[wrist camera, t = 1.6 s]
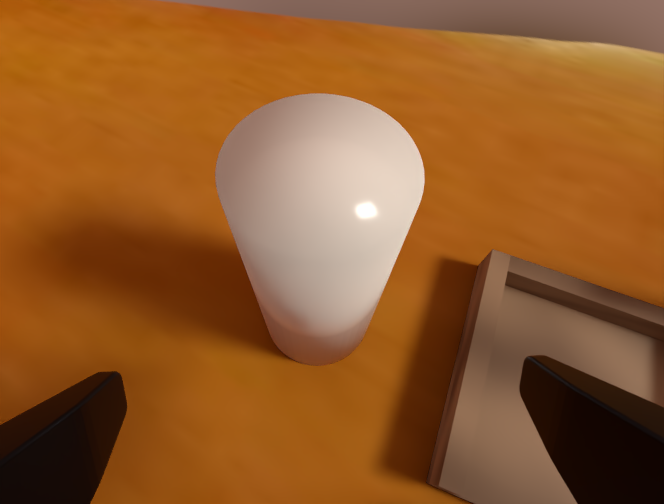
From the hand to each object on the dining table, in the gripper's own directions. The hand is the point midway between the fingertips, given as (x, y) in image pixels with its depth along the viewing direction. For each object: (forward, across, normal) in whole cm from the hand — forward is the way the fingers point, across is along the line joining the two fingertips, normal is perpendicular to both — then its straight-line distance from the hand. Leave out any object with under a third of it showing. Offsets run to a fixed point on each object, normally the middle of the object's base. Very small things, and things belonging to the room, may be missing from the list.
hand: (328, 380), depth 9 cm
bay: (+8, -13, +8) cm, 17 cm away
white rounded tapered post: (+12, 0, +5) cm, 13 cm away
